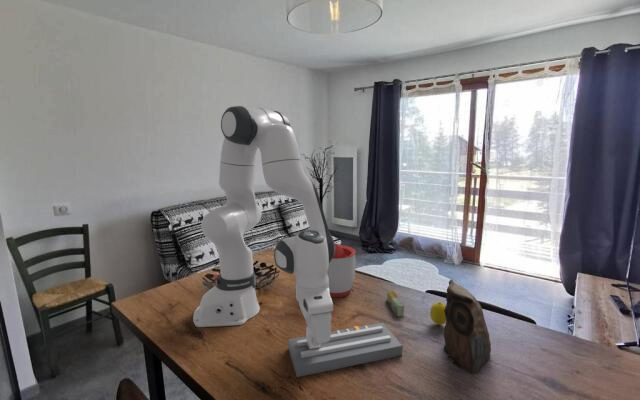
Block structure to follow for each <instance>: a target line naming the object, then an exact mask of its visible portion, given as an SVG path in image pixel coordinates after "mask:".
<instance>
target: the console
mask: <svg viewBox="0 0 640 400" xmlns="http://www.w3.org/2000/svg"><path fill="white" fill-rule="evenodd" d="M287 342H288V343H287V344H288V346H287V347H288V351H289V355H290V358H291V363H292V365H293V370H294V372H295V376H296V378H300V377H305V376H309V375H315V374H319V373H324V372H328V371H333V370H338V369H343V368H347V367H351V366H352V367H353V366H357V365H362V364H366V363H371V362H376V361H381V360H386V359H390V358H396V357H400V356H403V345H402V343H401V342H400V341H399V340H398V339H397V338H396V336H395V335H394V334H393V333H392V331H390V329H389V328H388V327H387V326H386V325H385V323H384V322H380V323H374V324H368V325H362V326H361V325H360V326H358V325H354V326H353V327H351V328H346V329H340V330H338V329H337V330H334V331H331V337H330V340H329V342H327V343H322V344H321V347H320V348H318V349H313V350H309V349H308V346H307V340H306V336H300V337H293V338H288V339H287Z"/></svg>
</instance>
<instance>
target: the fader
mask: <svg viewBox="0 0 640 400" xmlns="http://www.w3.org/2000/svg"><path fill="white" fill-rule="evenodd" d="M305 333H306V334H305V335H306V340H307V346H308V349H309V350H313V349H318V348H320V347H321V344H320V345H319V346H313V343H312V337H313V336H312V334H311V332H310V329H309V327H307V326H306V327H305Z"/></svg>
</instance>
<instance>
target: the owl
mask: <svg viewBox="0 0 640 400" xmlns="http://www.w3.org/2000/svg"><path fill="white" fill-rule="evenodd" d="M446 292H447V293H446V297H445V298H446V299H445V300H446V304H445V306H446V307H445V310H444V312H445V316H446V323H445V324H444V328H443V339H444V344H445V345H444V348H443V351H444V352H445V353H446V354H447V357H448V359H450V360H451V361H452V364H453V365H455V366H456V367H457V368H459V369H462V370H464V371H466V372H468V373H469V374H471V375H474V374H477V373H478V372H479V370H480V369H482V367H483V366H484V364H485V363H488V361H489V359H490V358H491V352H492V347H491V345H492V343H491V340H490V338H491V337H490V333H489V329H488V326H487V323H486V320H485V315H484V312H483V308H482V306H481V304H480V302H479V301H478V300H477V298H476V297H475V295H473V294H472V293H471V292H470V291H469V290H468V289H467V288H465V287H464V286H462V285H461V284H458V283H457V282H456V281H454V280H453V279H450V280H449V281H448V286H447V288H446Z"/></svg>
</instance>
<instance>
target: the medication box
mask: <svg viewBox="0 0 640 400" xmlns="http://www.w3.org/2000/svg"><path fill="white" fill-rule="evenodd" d="M386 293H387V295H386V301H387V303H388V304H389V306H390V308H391V310H392V312H393V314H394V315H395V316H396V318H397V317H401V318H402V317H404V314H405V305H404V304H403V302H402V300H401V299H400V298H399V296H398V294H397V293H396V291H395V290H387V292H386Z"/></svg>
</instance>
